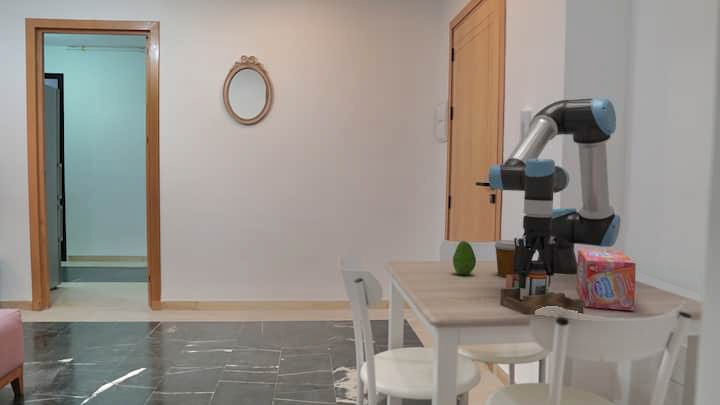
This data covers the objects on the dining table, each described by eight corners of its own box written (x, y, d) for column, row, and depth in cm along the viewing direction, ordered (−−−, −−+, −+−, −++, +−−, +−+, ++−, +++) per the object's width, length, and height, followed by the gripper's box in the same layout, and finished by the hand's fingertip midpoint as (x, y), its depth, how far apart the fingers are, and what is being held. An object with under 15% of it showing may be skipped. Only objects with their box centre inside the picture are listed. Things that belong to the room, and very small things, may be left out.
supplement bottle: (519, 299, 153) (521, 259, 153) (539, 299, 154) (541, 259, 153) (527, 304, 148) (529, 263, 147) (548, 304, 148) (550, 263, 147)
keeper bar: (512, 287, 173) (513, 273, 172) (543, 298, 160) (544, 283, 159) (505, 288, 172) (506, 274, 171) (536, 299, 159) (537, 284, 158)
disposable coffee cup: (522, 279, 187) (523, 244, 186) (493, 277, 189) (495, 243, 188) (519, 274, 196) (521, 240, 195) (492, 272, 198) (494, 239, 197)
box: (575, 287, 177) (577, 245, 176) (618, 291, 173) (620, 248, 172) (584, 308, 151) (586, 259, 150) (634, 313, 148) (638, 262, 147)
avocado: (450, 275, 190) (451, 241, 190) (455, 271, 198) (456, 238, 197) (473, 278, 187) (474, 243, 187) (477, 273, 195) (478, 240, 194)
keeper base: (548, 299, 159) (549, 284, 159) (586, 312, 146) (586, 295, 146) (500, 304, 153) (500, 288, 152) (534, 318, 140) (535, 300, 139)
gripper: (555, 213, 156) (551, 293, 158) (500, 214, 149) (497, 298, 150) (574, 216, 149) (570, 299, 151) (518, 217, 142) (514, 305, 144)
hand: (533, 298), depth 151 cm, fingers closed on supplement bottle, 6 cm apart
